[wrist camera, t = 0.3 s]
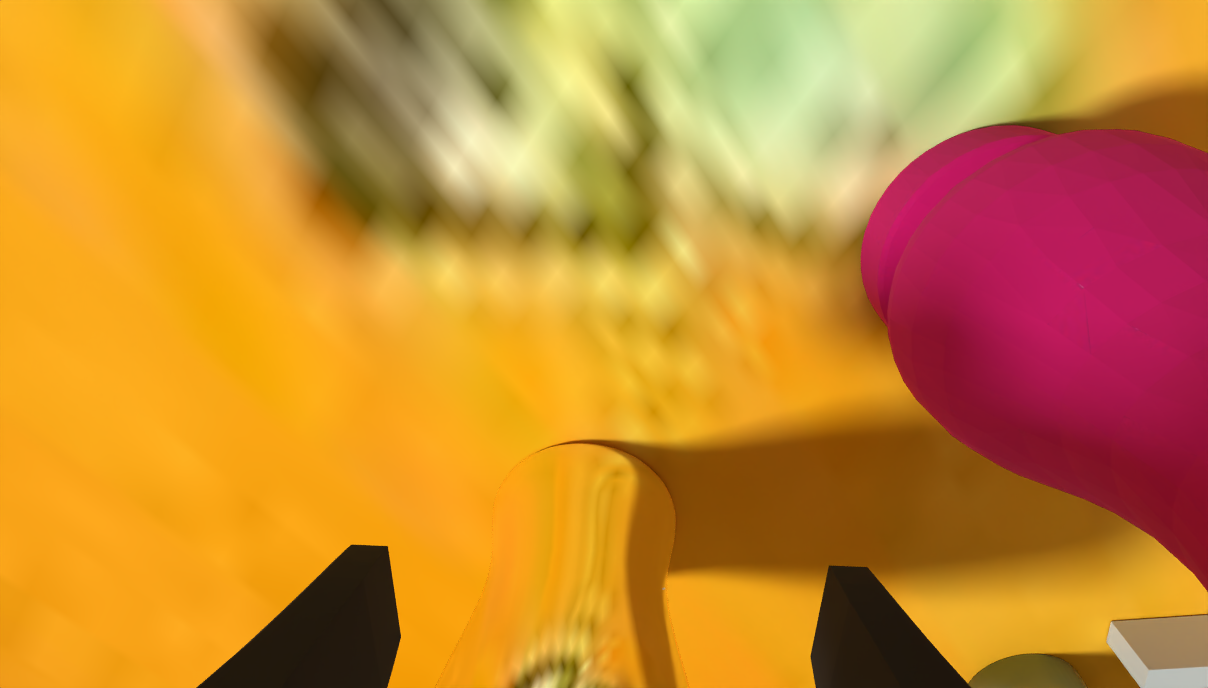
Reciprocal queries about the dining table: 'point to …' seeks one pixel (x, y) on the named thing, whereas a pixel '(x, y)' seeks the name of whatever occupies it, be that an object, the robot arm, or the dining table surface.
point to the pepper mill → (1059, 313)
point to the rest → (1163, 650)
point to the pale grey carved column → (575, 579)
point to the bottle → (1028, 673)
